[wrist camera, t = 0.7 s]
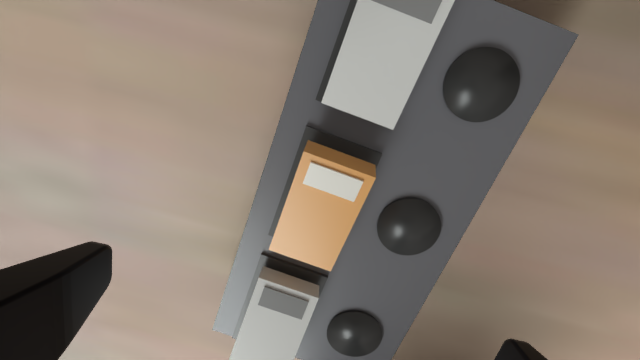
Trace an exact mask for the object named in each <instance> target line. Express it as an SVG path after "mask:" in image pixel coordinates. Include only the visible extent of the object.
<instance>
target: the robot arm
mask: <svg viewBox="0 0 640 360" xmlns="http://www.w3.org/2000/svg"><path fill="white" fill-rule="evenodd" d="M111 277H112V249H111V247H110V246H109V245H106V244H102V243H98V242H87V243H84V244H80V245H77V246H74V247H71V248H68V249H65V250H61V251H58V252H55V253H52V254H49V255H45V256H42V257H39V258H36V259H33V260H29V261H26V262H23V263H20V264H17V265H13V266H10V267H7V268H4V269H1V270H0V360H58V359H59V357H60V356H61V355H62V354H63V352H64V351H65V350H66V348H67V347H68V346H69V344H70V343H71V341H72V340H73V338H74V337H75V335H76V334H77V332H78V331H79V329H80V328H81V326H82V325H83V323H84V322H85V320H86V319H87V317H88V316H89V314H90V313H91V311H92V310H93V308H94V307H95V305H96V304H97V302H98V301H99V299H100V298H101V296H102V295H103V293H104V292H105V290H106V289H107V287H108V286H109V283H110V281H111ZM494 360H547V359H546V358H545V357H544V356H543V355H542V354H540V353H539V352H538V351H537V350H536V349H535V348H533V347H532V346H531V345H530V344H528V343H527V342H524V341H519V340H515V339H507V340H506V341H505V342H504V343H503V345H502V347H501V349H500V350H499V352H498V354H497V356H496V358H495V359H494Z"/></svg>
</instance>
